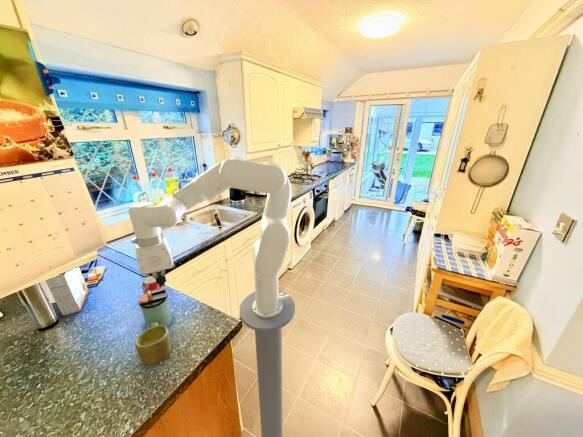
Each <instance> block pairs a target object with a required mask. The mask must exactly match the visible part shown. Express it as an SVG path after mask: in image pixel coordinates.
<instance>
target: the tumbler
mask: <svg viewBox="0 0 583 437" xmlns="http://www.w3.org/2000/svg"><path fill="white" fill-rule="evenodd" d="M163 289H164V290H161V289H158V290H153V291H150V292H151V300H150V301H146V302H143V303H140V298H139V299H138V305H139V307H140V309H141V312H142V316H143V319H144V323H145V327H146V330H147V329H149V328H151V327H150V326H151V324H152V323H155V322H157V323H158V325H162V326H165V327H166V328H168V327H169V326H170V325H171V323H172V322H173V317H172V316H173V315H172V312H171V307H170V302H169V298H168V297H169V296H168V291H166V289H165V288H163ZM147 294H148V293H146V294H144V293H143V295H142V296H145V295H147Z"/></svg>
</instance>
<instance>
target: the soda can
mask: <svg viewBox="0 0 583 437" xmlns="http://www.w3.org/2000/svg"><path fill="white" fill-rule="evenodd" d="M141 287H142V291H143V295H144V294H146V293H148V291H149V290H150V291H153V290H158V289H161V290H164V289H165V288H164V286H161V287H160V286H159V284H157V283H156V279H155V278H154V277H152V276H150V275H147V276H146V277H143V279H142V284H141Z"/></svg>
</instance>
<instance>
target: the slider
mask: <svg viewBox="0 0 583 437" xmlns="http://www.w3.org/2000/svg"><path fill="white" fill-rule="evenodd" d="M139 299H140V303H143V302H146V301H150V300H151V292H150V290H149V291H148V294H147V295H145V296H143V295H141V296H139Z"/></svg>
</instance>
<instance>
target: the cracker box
mask: <svg viewBox="0 0 583 437" xmlns="http://www.w3.org/2000/svg"><path fill="white" fill-rule="evenodd" d="M45 283H46V285H47V287H48V290H49V291H50V293H51V295H52V297H53V300H54V301H55V303H56V305H57V308H58V310H59V312H60V314H61V316H62V317H65V316H67V315H70V314H75V313H80V312H81V311H82V310H81V309H82V308H83V305H84V303H85V302H86V299H87V297H88V294H89V288H88V285H87V283H86V280H85V278H84V276H83V274H82V271H81V269H80V266H79V267H77V268H74V269H72V270H70V271H67V272H65V273H62V274H61V275H58V276H56V277H53V278H50V279H48V280H46V281H45Z"/></svg>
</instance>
